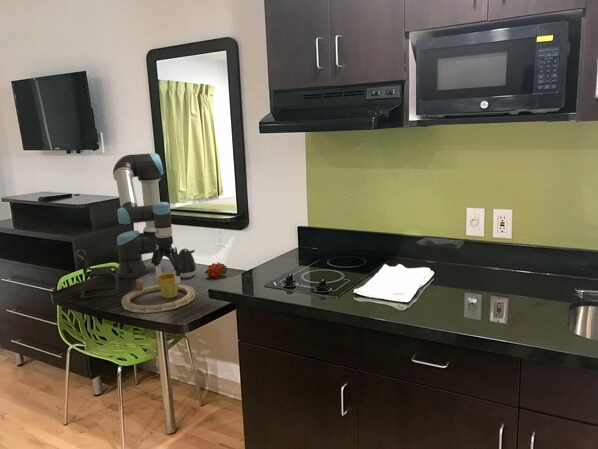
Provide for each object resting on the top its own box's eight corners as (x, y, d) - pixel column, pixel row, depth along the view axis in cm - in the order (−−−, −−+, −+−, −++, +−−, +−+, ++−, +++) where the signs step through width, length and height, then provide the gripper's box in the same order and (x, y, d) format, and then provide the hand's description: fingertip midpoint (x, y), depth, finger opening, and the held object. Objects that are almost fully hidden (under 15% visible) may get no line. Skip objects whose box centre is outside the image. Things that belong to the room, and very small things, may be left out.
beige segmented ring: (108, 303, 222) (106, 288, 221) (165, 283, 247) (164, 270, 245) (151, 317, 203) (149, 301, 201) (209, 295, 227) (207, 280, 226)
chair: (82, 291, 241) (76, 248, 236) (119, 287, 246) (114, 244, 241) (79, 300, 229) (73, 255, 224) (118, 295, 234) (113, 250, 229)
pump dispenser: (194, 279, 253) (192, 250, 250) (174, 279, 254) (172, 251, 251) (199, 273, 263) (196, 246, 260) (179, 274, 264) (177, 246, 261)
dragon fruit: (229, 278, 257) (207, 285, 253) (225, 266, 262) (203, 272, 259) (228, 269, 250) (205, 275, 247) (224, 256, 256) (201, 263, 252)
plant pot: (157, 294, 232) (155, 274, 230) (179, 291, 236) (177, 271, 234) (160, 301, 223) (158, 280, 221) (182, 297, 227) (181, 277, 225)
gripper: (140, 235, 228) (145, 278, 232) (174, 240, 213) (179, 287, 217) (154, 232, 234) (158, 274, 238) (188, 237, 219) (192, 282, 223)
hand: (168, 280), depth 228 cm, fingers open, 13 cm apart
